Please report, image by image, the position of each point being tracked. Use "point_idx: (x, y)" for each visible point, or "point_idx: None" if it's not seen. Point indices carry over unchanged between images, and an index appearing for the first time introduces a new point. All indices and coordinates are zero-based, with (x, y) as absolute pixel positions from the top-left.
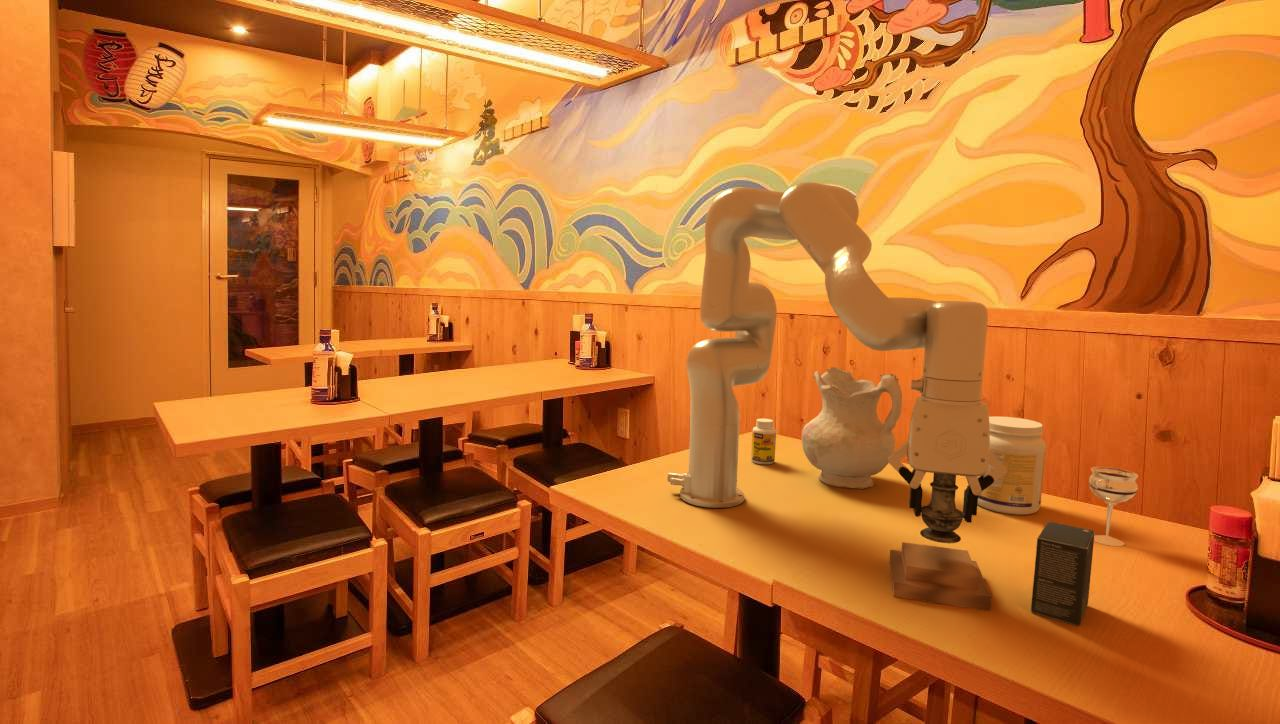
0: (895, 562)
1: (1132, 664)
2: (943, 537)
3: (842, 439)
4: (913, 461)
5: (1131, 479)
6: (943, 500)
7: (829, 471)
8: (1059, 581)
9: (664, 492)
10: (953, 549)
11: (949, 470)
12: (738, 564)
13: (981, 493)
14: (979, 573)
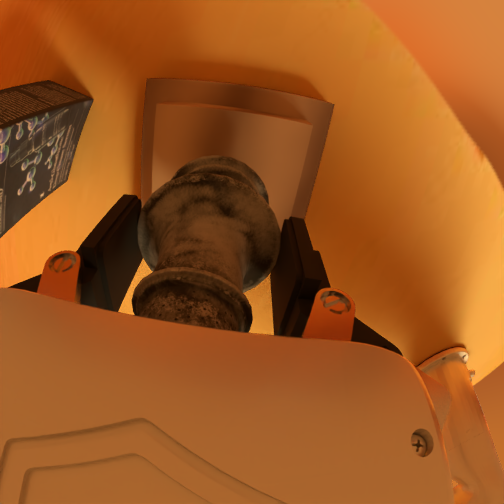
0: (302, 200)
1: (34, 7)
2: (215, 173)
3: None
4: (420, 388)
5: None
6: (205, 243)
7: None
8: (28, 96)
9: (467, 364)
10: None
11: (154, 334)
12: (500, 204)
13: None
14: (144, 182)
